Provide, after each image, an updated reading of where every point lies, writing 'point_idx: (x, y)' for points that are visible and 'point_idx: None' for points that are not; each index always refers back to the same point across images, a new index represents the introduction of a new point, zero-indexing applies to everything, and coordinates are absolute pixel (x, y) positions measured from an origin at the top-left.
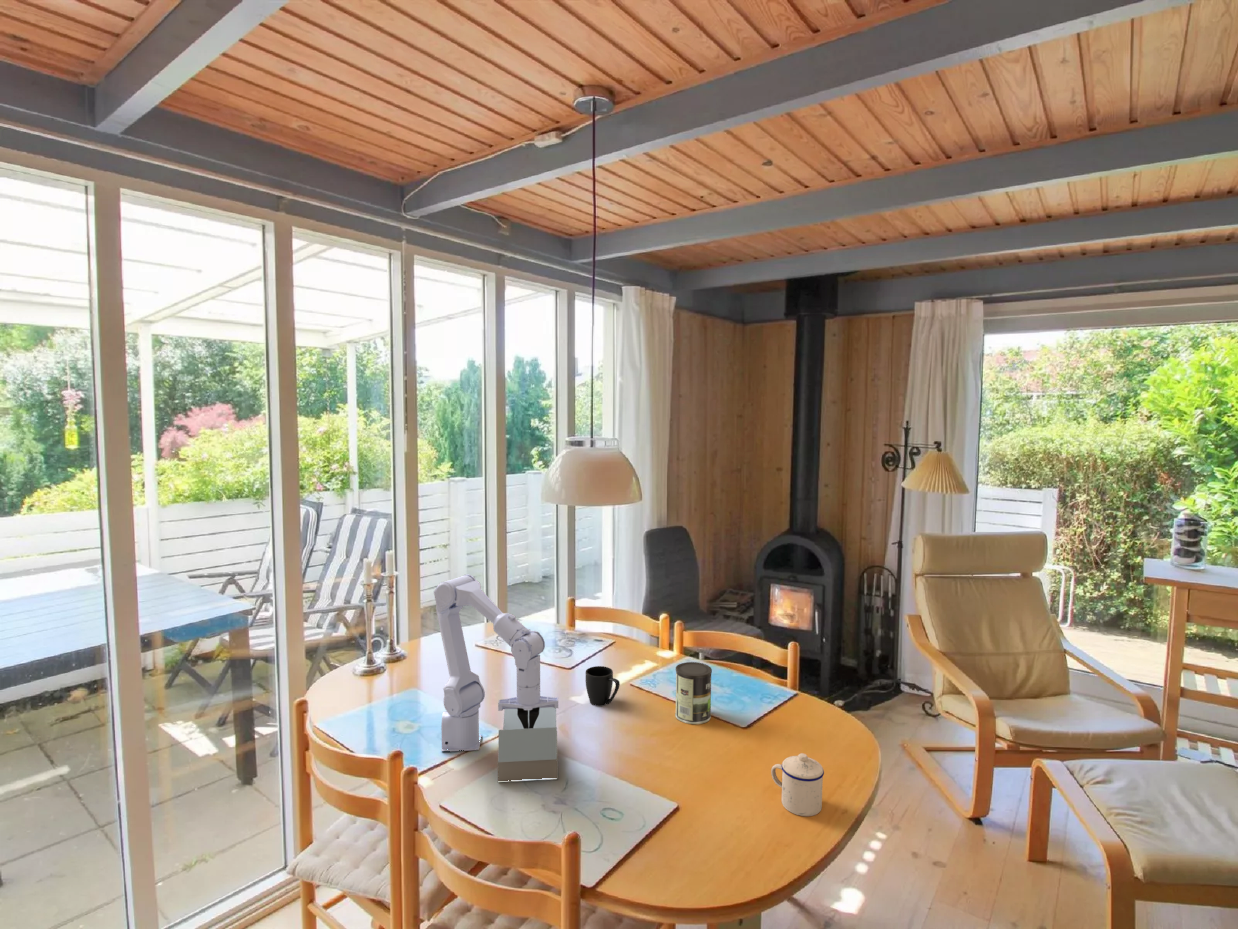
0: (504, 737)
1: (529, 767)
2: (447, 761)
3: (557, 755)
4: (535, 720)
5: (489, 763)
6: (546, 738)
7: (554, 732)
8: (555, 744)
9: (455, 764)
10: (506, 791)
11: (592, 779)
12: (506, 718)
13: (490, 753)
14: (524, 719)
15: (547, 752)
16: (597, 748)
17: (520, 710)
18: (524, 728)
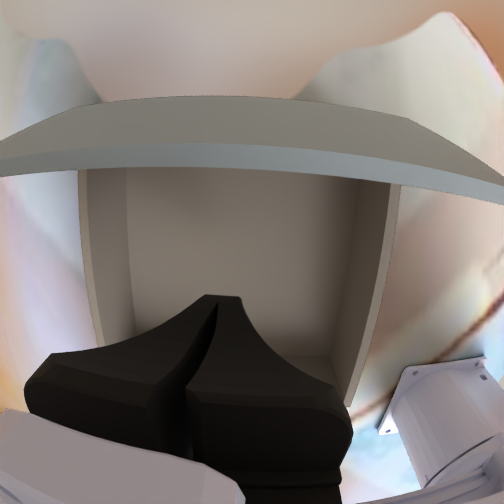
0: (447, 154)
1: None
2: (486, 313)
3: (78, 170)
4: (111, 344)
5: (386, 291)
6: (56, 127)
7: None
8: (34, 124)
9: (475, 295)
10: (330, 80)
11: None
12: None
13: (373, 351)
14: (241, 369)
15: (101, 108)
16: (28, 317)
17: (296, 488)
18: (247, 324)
